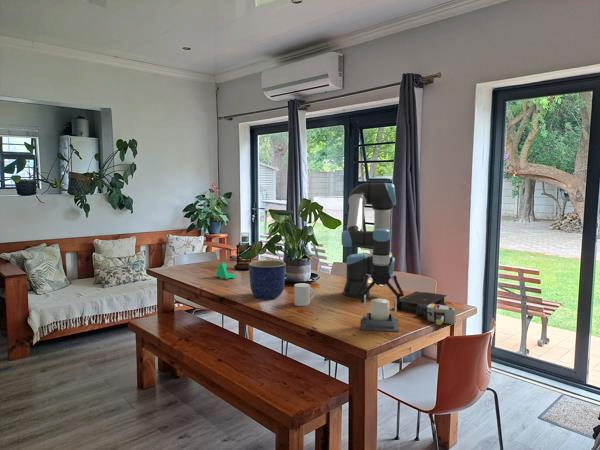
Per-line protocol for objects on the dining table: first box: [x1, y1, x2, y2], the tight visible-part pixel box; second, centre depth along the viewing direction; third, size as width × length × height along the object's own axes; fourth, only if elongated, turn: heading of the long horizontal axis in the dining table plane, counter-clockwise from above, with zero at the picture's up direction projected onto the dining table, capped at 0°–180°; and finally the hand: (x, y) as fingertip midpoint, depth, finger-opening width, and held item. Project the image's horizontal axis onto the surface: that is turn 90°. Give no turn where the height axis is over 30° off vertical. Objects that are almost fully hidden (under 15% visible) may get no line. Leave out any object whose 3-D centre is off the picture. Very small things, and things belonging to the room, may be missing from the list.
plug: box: [370, 298, 390, 321], centre depth 196 cm, size 8×8×10 cm
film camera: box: [415, 304, 457, 326], centre depth 201 cm, size 7×19×15 cm
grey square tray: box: [360, 312, 400, 333], centre depth 197 cm, size 16×16×4 cm
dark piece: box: [233, 242, 252, 271], centre depth 325 cm, size 15×15×20 cm
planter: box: [248, 259, 287, 300], centre depth 245 cm, size 21×21×19 cm
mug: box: [293, 282, 316, 307], centre depth 232 cm, size 8×10×12 cm
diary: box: [393, 290, 448, 314], centre depth 226 cm, size 19×25×5 cm
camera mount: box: [215, 262, 236, 280], centre depth 295 cm, size 12×8×10 cm, turn 43°
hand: (380, 310), depth 196 cm, fingers open, 13 cm apart
